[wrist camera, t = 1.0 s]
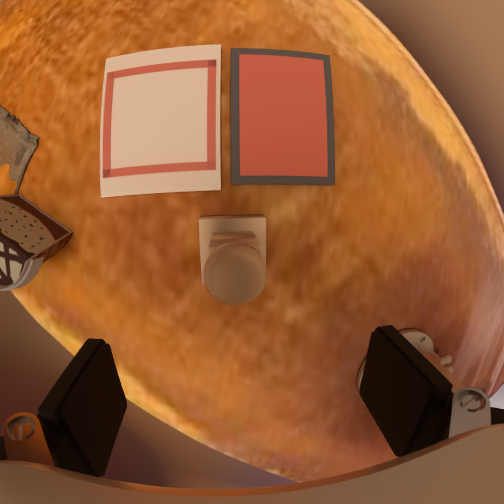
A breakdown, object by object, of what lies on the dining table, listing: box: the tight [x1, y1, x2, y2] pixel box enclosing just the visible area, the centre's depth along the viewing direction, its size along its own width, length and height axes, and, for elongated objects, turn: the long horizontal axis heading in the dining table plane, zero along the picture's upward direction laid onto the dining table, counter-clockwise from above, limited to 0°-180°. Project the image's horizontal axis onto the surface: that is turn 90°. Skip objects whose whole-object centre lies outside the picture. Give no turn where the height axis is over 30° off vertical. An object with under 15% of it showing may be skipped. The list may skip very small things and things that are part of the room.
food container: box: [0, 194, 73, 291], centre depth 22 cm, size 12×6×10 cm, turn 58°
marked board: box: [100, 45, 221, 198], centre depth 25 cm, size 12×15×1 cm
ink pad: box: [231, 48, 335, 185], centre depth 26 cm, size 10×14×1 cm
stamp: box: [199, 214, 267, 305], centre depth 24 cm, size 6×6×11 cm
